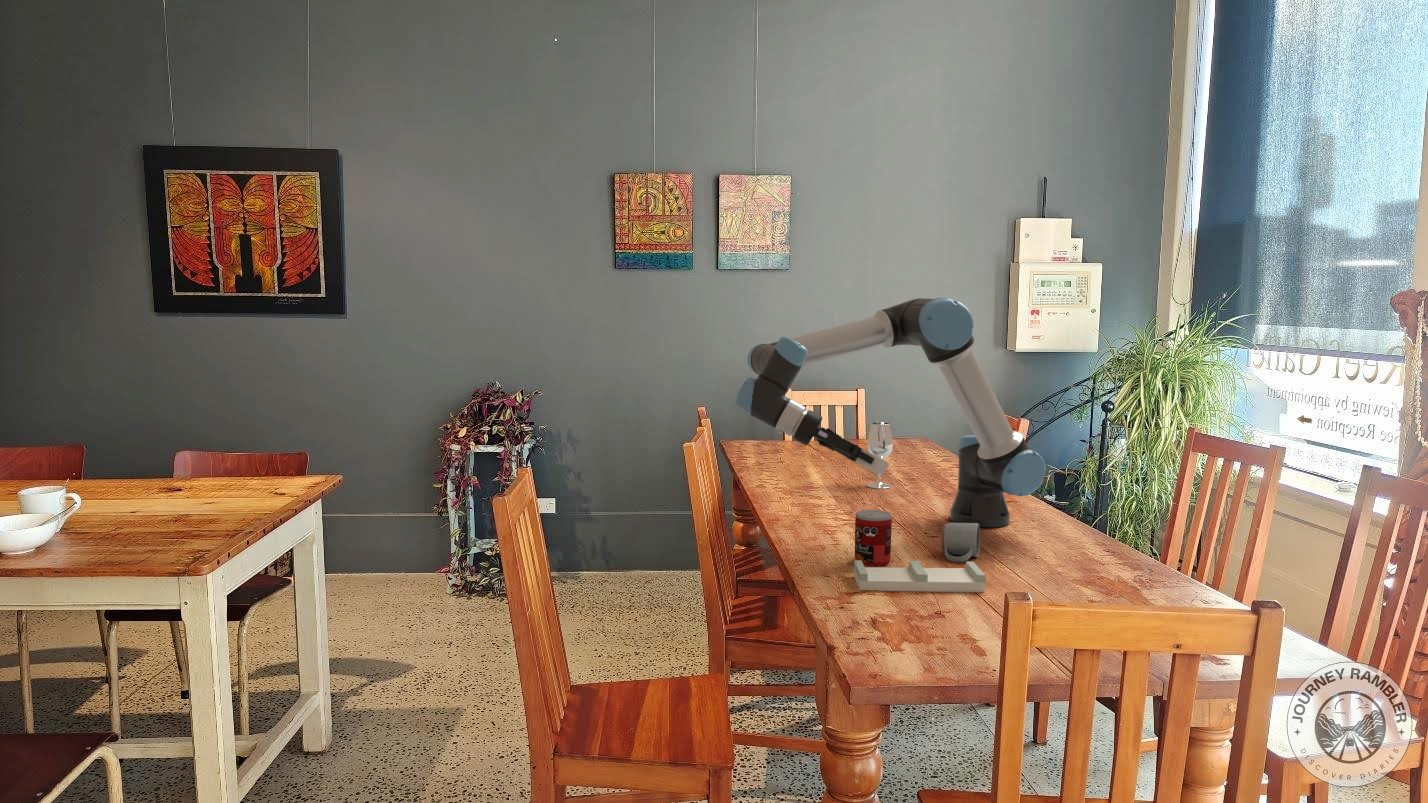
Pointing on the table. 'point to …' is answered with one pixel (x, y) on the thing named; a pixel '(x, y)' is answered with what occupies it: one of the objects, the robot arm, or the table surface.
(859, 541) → the canned food
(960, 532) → the ceramic mug
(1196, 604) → the table surface
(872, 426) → the wineglass
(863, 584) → the rail
